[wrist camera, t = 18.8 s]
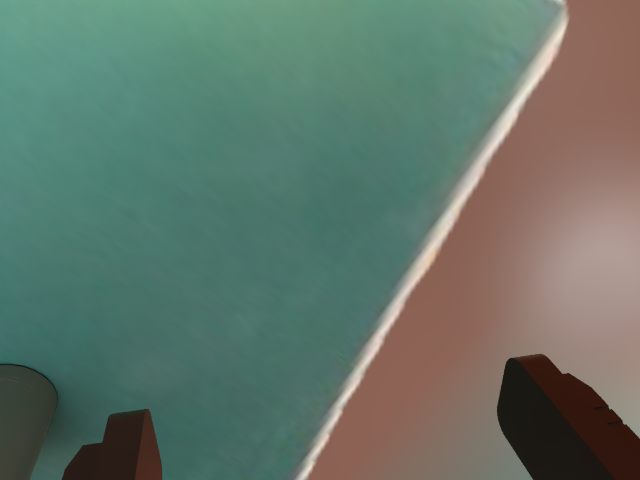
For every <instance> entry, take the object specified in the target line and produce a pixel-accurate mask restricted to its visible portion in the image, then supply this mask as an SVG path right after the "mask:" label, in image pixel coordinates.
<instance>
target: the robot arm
mask: <svg viewBox="0 0 640 480" xmlns="http://www.w3.org/2000/svg"><path fill="white" fill-rule="evenodd" d="M56 406H57V394H56V391H55V389H54V387H53V386H52V384H51V383H50V382H49V381H48V380H47V379H46V378H45V377H43V376H42V375H41V374H39V373H37V372H35V371H33V370H31V369H28V368H25V367H21V366H15V365H0V480H30V477H31V475H32V472H33V469H34V466H35V464H36V461H37V458H38V455H39V453H40V450H41V447H42V444H43V442H44V439H45V437H46V434H47V431H48V428H49V426H50V423H51V420H52V417H53V415H54V412H55V409H56ZM497 415H498V421H499V424H500V427H501V429H502V432H503V434H504V435H505V437H506V439H507V440H508V442H509V443H510V445H511V446H512V448H513V449H514V451H515V452H516V454H517V455H518V457H519V459H520V460H521V462H522V463H523V465H524V466H525V468H526V469H527V471H528V472H529V474H530V475H531V477H532V479H533V480H640V439H639V437H638V436H637V435H636V434H635V433H634V432H633V431H632V430H631V429H630V428H629V427H628V426H627V425H624V424H623V422H622V420H621V418H620V417H619V416H618V415H617V414H616V413H615V412H614V411H613V410H612V409H611V410H610V409H609V407H608V405H607V404H606V403H605V401H604V400H603V399H602V398H601V397H600V396H599V395H598V394H597V393H596V392H595V391H594V390H593V389H592V388H591V387H589V386H588V385H587V384H585V383H583V382H582V381H580V380H579V379H577V378H576V377H574V376H572V375H571V374H569V373H567V374H562V373H561V372H560V371H559V370H558V368H557V367H556V366H555V365H554V364H553V363H552V362H551V361H550V360H549V359H548V358H547V357H546V356H545V355H543V354H536V355H529V356H522V357H515V358H510V359H508V361H507V362H506V365H505V370H504V375H503V381H502V385H501V391H500V396H499V400H498V406H497ZM62 480H162V466H161V459H160V454H159V450H158V445H157V440H156V436H155V431H154V427H153V422H152V417H151V413H150V411H149V409H144V410H137V411H130V412H123V413H116V414H111V415H110V416H109V418H108V421H107V425H106V430H105V434H104V438H103V442H102V443H96V444H90V445H83V446H82V447H81V449H80V450H79V451H78V453H77V454H76V455H75V457H74V458H73V459H72V461H71V462H70V463H69V465H68V466H67V467H66V469H65V471H64V475H63V478H62Z"/></svg>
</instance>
